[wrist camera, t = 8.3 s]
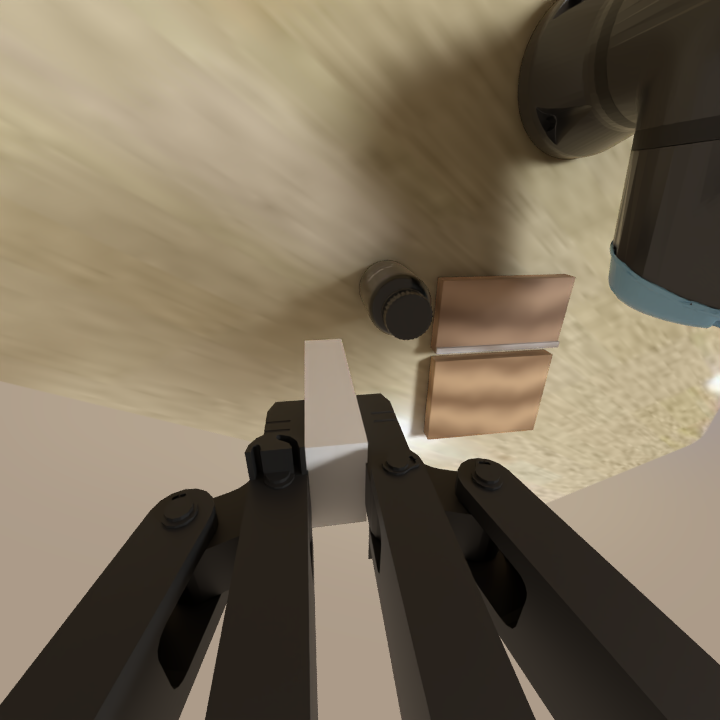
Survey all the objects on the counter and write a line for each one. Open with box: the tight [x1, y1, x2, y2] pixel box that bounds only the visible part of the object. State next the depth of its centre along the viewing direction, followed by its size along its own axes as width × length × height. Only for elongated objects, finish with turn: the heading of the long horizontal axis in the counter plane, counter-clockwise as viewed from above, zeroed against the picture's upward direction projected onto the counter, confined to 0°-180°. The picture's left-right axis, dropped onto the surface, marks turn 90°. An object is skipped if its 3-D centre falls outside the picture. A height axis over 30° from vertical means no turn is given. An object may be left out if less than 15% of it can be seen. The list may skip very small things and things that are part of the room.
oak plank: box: [424, 349, 552, 439], centre depth 52 cm, size 13×18×2 cm
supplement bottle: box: [360, 260, 433, 340], centre depth 38 cm, size 7×7×12 cm
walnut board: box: [431, 274, 576, 354], centre depth 46 cm, size 10×18×2 cm, turn 90°
